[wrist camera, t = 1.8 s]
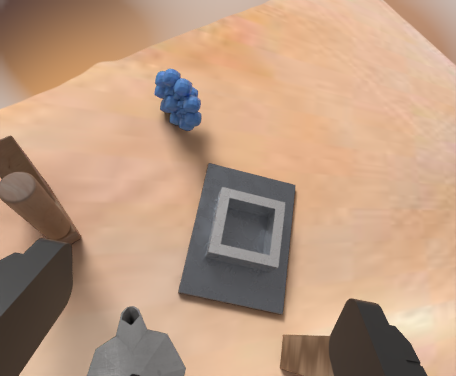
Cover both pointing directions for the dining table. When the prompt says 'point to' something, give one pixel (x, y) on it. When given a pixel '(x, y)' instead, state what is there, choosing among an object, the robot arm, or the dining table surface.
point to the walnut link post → (306, 355)
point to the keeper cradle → (240, 240)
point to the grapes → (178, 99)
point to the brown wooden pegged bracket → (32, 194)
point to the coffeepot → (136, 351)
